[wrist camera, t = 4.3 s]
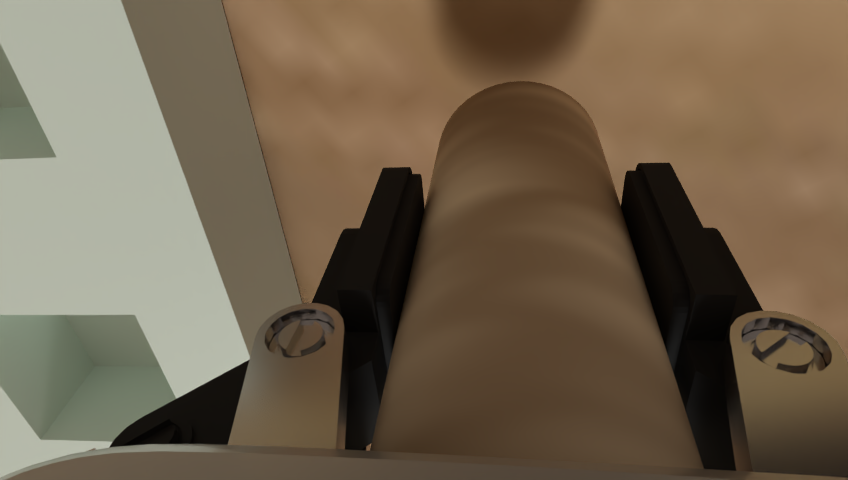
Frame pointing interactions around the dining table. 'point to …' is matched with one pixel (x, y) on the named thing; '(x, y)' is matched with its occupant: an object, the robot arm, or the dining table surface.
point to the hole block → (125, 218)
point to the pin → (529, 302)
